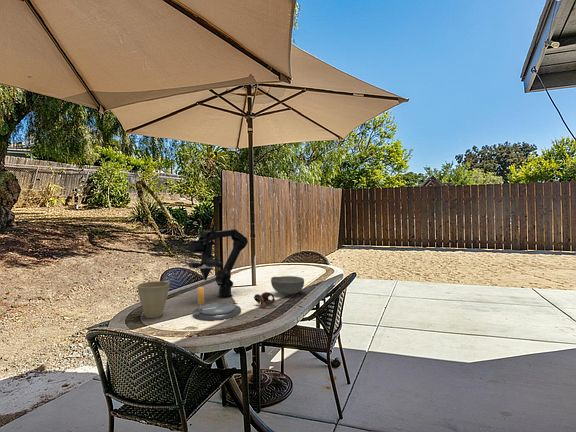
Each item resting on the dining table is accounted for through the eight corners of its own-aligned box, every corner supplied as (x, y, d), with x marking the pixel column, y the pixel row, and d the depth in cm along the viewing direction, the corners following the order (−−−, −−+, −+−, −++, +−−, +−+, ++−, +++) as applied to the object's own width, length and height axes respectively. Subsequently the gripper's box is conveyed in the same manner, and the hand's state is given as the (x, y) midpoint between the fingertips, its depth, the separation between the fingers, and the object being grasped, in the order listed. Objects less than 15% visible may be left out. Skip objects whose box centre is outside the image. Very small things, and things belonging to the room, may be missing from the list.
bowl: (291, 300, 200) (291, 283, 199) (264, 295, 212) (264, 279, 212) (310, 293, 216) (310, 277, 215) (284, 288, 228) (284, 273, 228)
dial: (229, 303, 190) (229, 280, 190) (239, 312, 174) (239, 287, 173) (194, 307, 182) (194, 284, 182) (201, 317, 166) (201, 291, 165)
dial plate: (223, 303, 195) (223, 300, 195) (250, 312, 178) (250, 309, 178) (183, 313, 178) (183, 310, 178) (208, 324, 161) (208, 320, 161)
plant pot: (151, 322, 165) (150, 289, 164) (131, 317, 172) (130, 285, 172) (176, 314, 177) (175, 282, 177) (157, 309, 185) (156, 279, 185)
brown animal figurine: (276, 304, 195) (277, 293, 191) (271, 316, 187) (272, 305, 183) (255, 297, 197) (257, 287, 193) (249, 309, 189) (251, 298, 185)
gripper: (197, 253, 188) (195, 283, 188) (228, 254, 200) (226, 281, 199) (189, 252, 197) (187, 280, 196) (218, 252, 209) (217, 278, 208)
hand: (205, 280), depth 200 cm, fingers closed
